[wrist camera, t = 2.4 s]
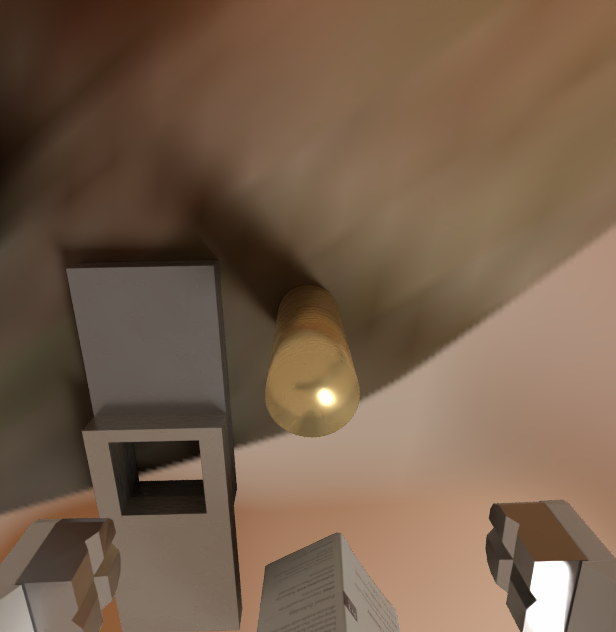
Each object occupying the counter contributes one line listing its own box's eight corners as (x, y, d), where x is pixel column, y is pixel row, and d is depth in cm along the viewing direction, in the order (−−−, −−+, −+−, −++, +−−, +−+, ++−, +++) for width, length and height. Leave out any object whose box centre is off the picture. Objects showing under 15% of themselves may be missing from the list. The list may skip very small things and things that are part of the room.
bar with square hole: (218, 260, 23) (207, 271, 20) (245, 588, 29) (239, 630, 27) (79, 262, 23) (50, 275, 20) (138, 591, 29) (122, 633, 27)
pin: (338, 284, 23) (360, 351, 15) (338, 341, 24) (359, 436, 16) (276, 285, 23) (262, 353, 15) (279, 342, 24) (267, 438, 16)
